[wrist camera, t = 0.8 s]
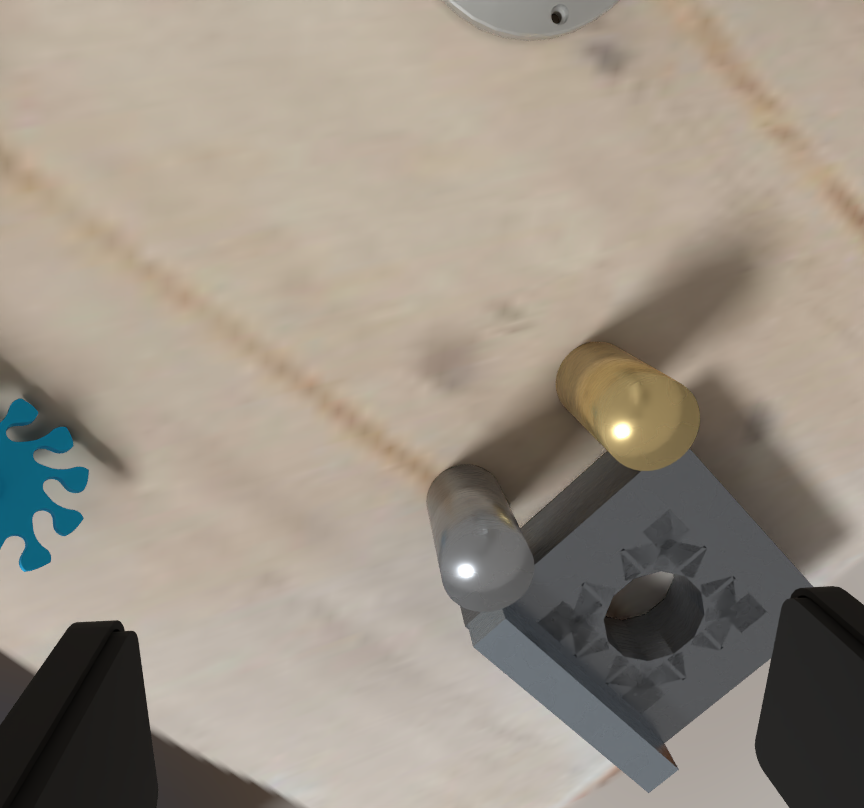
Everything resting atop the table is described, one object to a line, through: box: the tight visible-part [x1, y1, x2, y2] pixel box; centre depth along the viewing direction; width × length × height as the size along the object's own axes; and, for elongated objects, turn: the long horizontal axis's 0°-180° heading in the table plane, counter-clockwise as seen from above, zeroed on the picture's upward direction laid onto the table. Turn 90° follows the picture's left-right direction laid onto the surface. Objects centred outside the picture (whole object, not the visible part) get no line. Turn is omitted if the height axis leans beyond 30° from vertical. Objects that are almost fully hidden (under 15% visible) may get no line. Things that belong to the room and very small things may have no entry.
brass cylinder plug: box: [556, 342, 700, 471], centre depth 34 cm, size 5×5×8 cm
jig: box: [460, 448, 813, 793], centre depth 39 cm, size 16×16×6 cm
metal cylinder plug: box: [426, 465, 534, 612], centre depth 35 cm, size 5×5×8 cm
